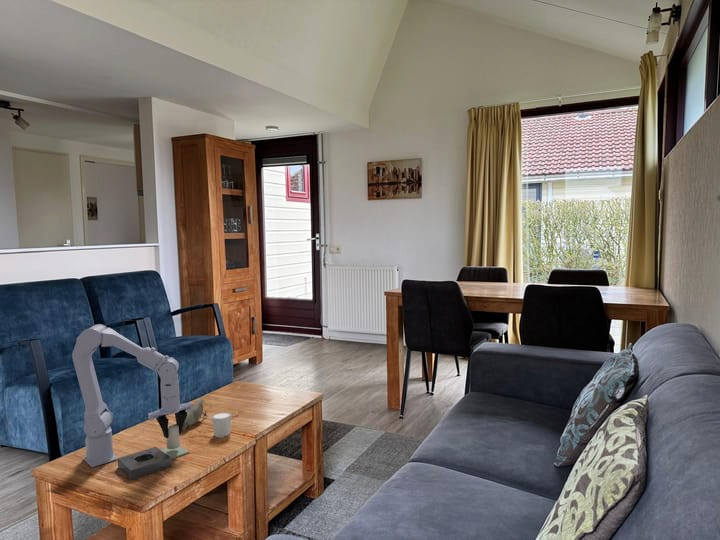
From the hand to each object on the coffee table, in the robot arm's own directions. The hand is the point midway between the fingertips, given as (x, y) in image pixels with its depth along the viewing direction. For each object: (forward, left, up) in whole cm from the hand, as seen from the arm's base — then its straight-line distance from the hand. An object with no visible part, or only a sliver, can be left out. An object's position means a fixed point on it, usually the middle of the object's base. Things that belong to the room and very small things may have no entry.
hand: (172, 435), depth 168 cm
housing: (+4, -11, -6) cm, 13 cm away
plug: (0, 0, -4) cm, 4 cm away
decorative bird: (-20, +16, -6) cm, 26 cm away
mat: (0, 0, -6) cm, 6 cm away
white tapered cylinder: (-2, +19, -6) cm, 20 cm away
